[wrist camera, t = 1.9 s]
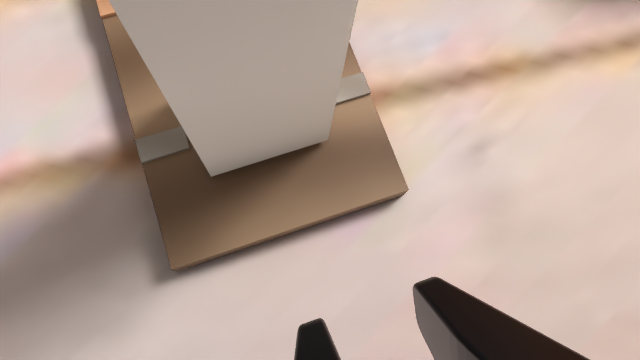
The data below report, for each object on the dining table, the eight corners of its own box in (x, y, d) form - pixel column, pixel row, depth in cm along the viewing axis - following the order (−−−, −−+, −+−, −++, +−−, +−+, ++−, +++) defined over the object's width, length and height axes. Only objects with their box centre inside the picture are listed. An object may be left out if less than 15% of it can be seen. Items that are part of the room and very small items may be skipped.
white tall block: (328, 140, 21) (374, -76, 9) (210, 176, 20) (104, -7, 9) (296, 56, 22) (304, -235, 10) (184, 89, 21) (54, -184, 10)
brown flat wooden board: (403, 195, 22) (409, 188, 21) (177, 271, 20) (170, 269, 19) (280, -114, 26) (280, -134, 24) (82, -67, 24) (72, -86, 23)
